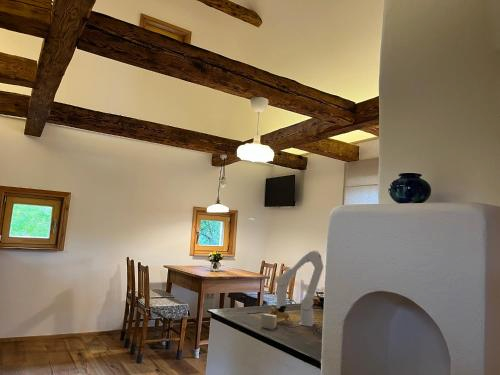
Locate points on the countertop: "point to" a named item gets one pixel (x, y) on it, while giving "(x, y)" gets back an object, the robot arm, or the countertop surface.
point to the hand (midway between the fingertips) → (280, 318)
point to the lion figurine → (279, 314)
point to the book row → (268, 321)
